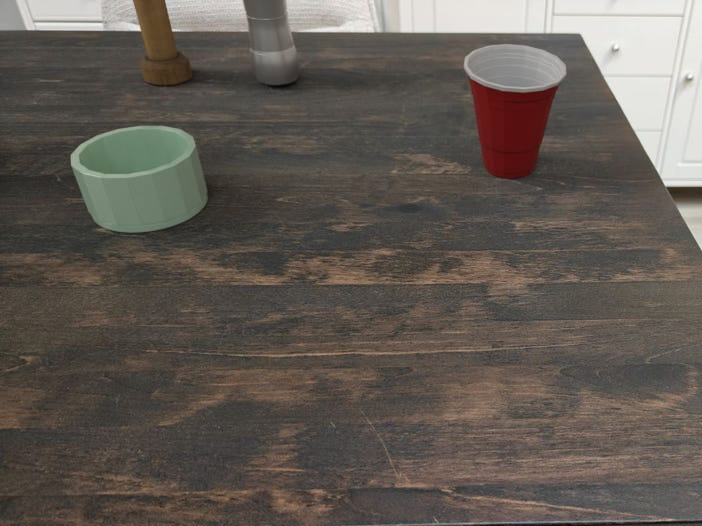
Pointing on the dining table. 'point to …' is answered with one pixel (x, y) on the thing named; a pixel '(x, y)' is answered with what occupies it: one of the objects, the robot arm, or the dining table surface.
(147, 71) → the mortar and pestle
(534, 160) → the plastic cup
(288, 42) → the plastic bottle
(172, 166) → the holder
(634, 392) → the dining table surface
